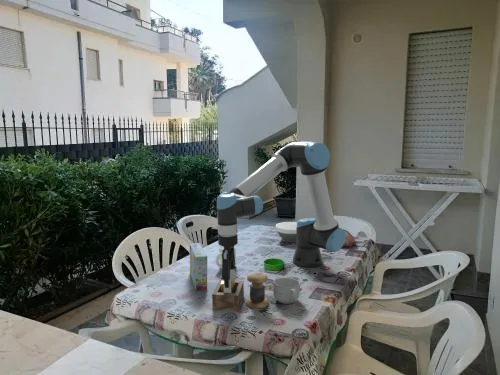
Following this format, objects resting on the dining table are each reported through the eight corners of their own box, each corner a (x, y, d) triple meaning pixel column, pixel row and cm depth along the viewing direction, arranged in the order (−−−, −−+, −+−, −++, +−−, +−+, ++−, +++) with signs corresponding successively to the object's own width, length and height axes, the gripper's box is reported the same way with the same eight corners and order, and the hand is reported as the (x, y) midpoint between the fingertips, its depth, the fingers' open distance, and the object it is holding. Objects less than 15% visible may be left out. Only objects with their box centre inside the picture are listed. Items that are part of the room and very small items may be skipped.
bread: (328, 239, 234) (328, 224, 233) (359, 244, 224) (359, 228, 223) (319, 244, 220) (319, 228, 219) (351, 249, 210) (352, 232, 209)
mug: (222, 273, 175) (222, 253, 173) (210, 269, 180) (210, 249, 179) (239, 266, 184) (239, 247, 182) (227, 263, 189) (227, 243, 188)
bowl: (309, 245, 219) (309, 229, 218) (276, 245, 219) (276, 229, 218) (304, 236, 238) (304, 221, 237) (274, 236, 239) (274, 221, 237)
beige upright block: (234, 297, 146) (234, 276, 145) (233, 301, 144) (233, 279, 142) (222, 297, 147) (222, 276, 146) (220, 300, 144) (220, 278, 143)
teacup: (271, 295, 151) (271, 276, 150) (297, 294, 152) (297, 275, 151) (276, 311, 138) (276, 291, 136) (305, 310, 138) (305, 290, 137)
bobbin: (269, 298, 148) (269, 272, 146) (267, 309, 139) (267, 281, 137) (247, 297, 149) (247, 271, 147) (244, 307, 140) (244, 280, 139)
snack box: (208, 289, 157) (207, 255, 155) (195, 291, 155) (194, 257, 153) (201, 272, 177) (200, 242, 175) (189, 273, 176) (188, 243, 173)
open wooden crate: (243, 294, 152) (243, 280, 151) (238, 310, 138) (238, 295, 137) (220, 293, 153) (219, 279, 152) (212, 309, 139) (212, 294, 138)
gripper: (223, 227, 152) (225, 278, 156) (212, 242, 131) (214, 301, 135) (241, 227, 151) (242, 279, 155) (232, 242, 130) (234, 302, 134)
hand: (229, 289), depth 145 cm, fingers open, 8 cm apart
